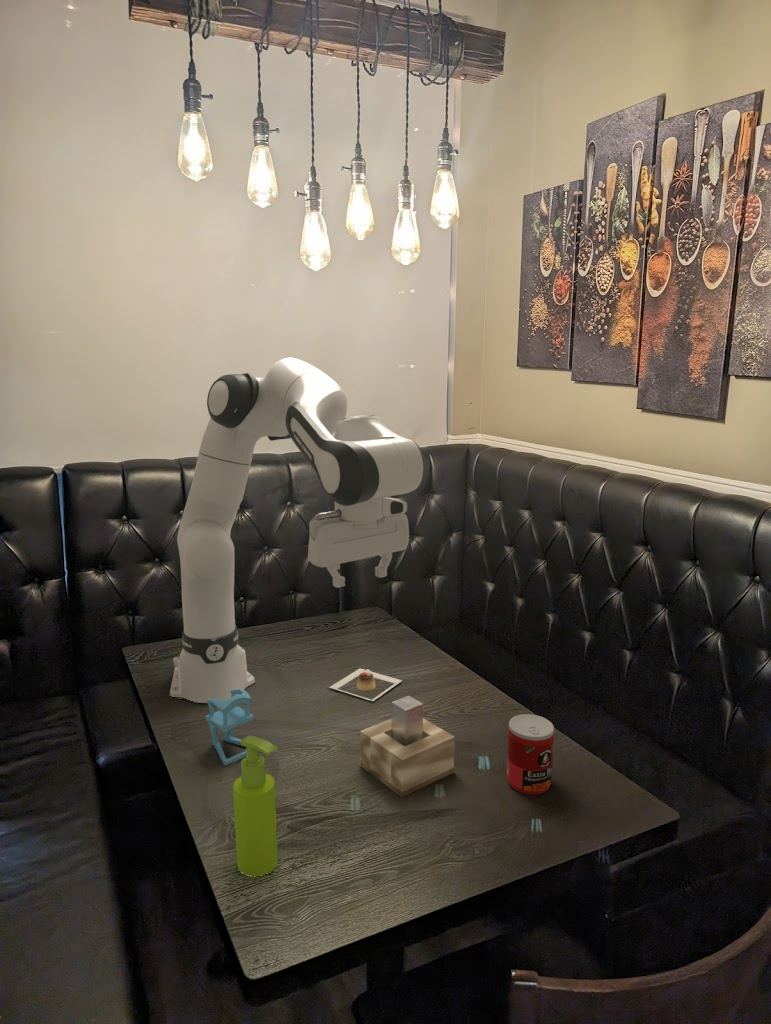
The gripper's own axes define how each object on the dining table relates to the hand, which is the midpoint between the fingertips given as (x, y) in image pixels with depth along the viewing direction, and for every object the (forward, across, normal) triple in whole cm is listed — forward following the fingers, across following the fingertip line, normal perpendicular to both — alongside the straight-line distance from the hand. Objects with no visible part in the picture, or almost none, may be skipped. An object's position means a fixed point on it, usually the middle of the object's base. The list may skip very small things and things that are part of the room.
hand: (360, 581), depth 127 cm
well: (+33, +2, -11) cm, 35 cm away
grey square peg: (+32, +2, -11) cm, 34 cm away
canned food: (+33, +16, -27) cm, 46 cm away
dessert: (+34, +16, +20) cm, 43 cm away
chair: (+33, -20, +15) cm, 42 cm away
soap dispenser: (+33, -31, -16) cm, 48 cm away
